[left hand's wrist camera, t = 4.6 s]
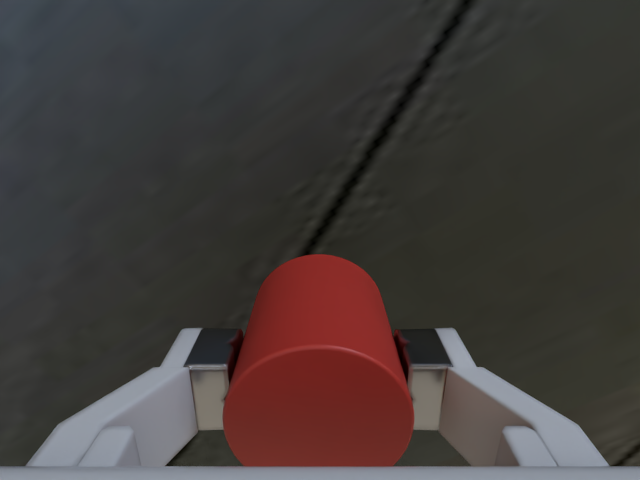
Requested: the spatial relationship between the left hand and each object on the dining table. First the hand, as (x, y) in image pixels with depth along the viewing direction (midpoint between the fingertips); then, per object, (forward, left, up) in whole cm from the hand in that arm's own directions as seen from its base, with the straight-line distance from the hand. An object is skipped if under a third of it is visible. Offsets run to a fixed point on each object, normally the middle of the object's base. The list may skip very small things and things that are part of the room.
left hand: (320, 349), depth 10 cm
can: (0, 0, -2) cm, 2 cm away
